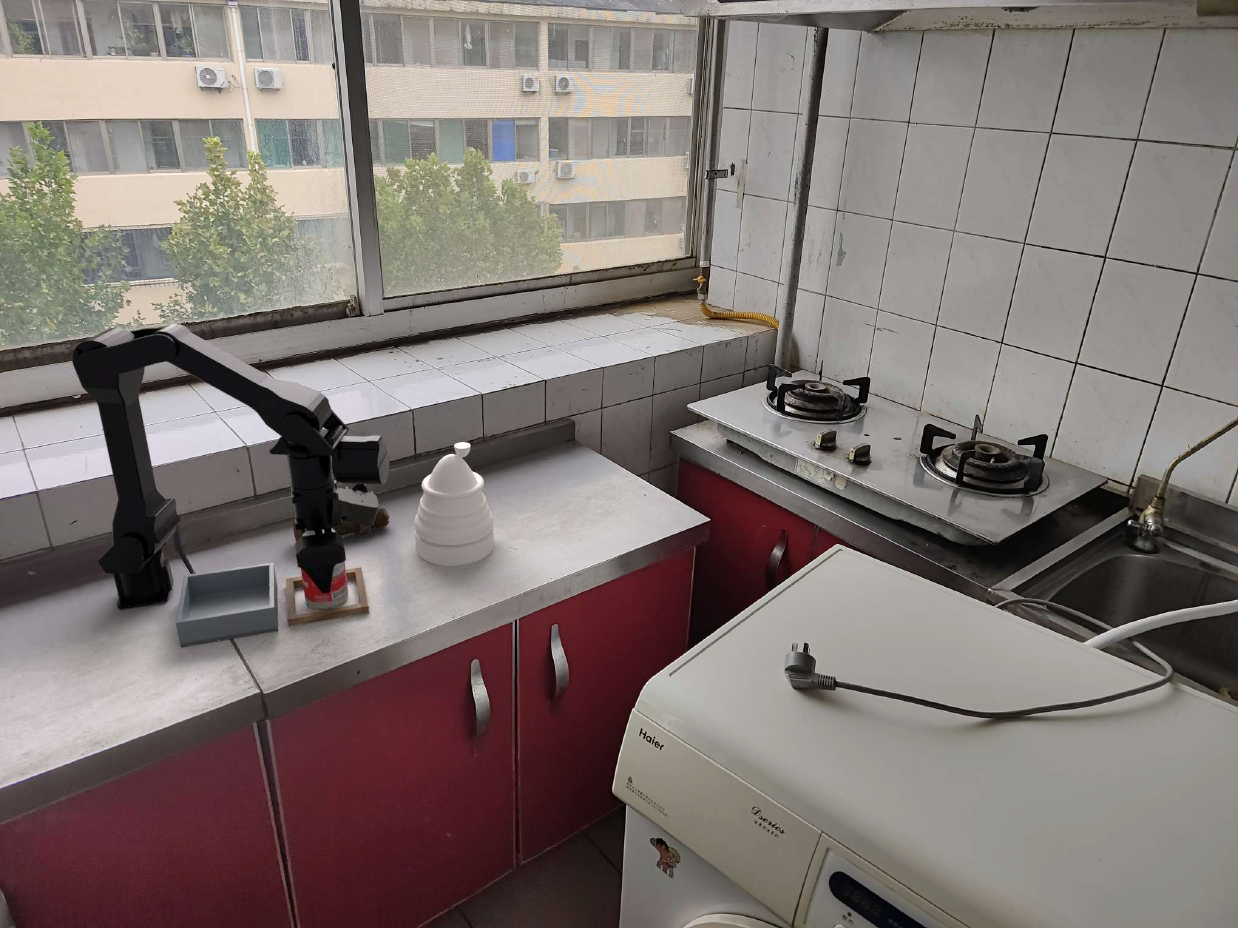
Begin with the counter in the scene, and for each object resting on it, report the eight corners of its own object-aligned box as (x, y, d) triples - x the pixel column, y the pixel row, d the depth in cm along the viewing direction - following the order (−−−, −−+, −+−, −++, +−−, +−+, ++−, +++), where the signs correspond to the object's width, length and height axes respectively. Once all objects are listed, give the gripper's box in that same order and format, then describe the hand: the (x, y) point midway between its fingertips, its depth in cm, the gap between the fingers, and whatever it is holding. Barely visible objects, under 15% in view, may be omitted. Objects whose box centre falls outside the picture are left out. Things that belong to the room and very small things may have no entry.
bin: (181, 647, 112) (175, 622, 110) (188, 598, 122) (183, 575, 120) (278, 630, 116) (274, 607, 114) (277, 584, 126) (273, 562, 124)
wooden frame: (288, 626, 117) (287, 619, 116) (287, 585, 126) (286, 578, 125) (369, 612, 121) (368, 606, 120) (362, 573, 130) (361, 567, 129)
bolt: (389, 537, 144) (300, 557, 136) (379, 514, 146) (292, 533, 138) (394, 518, 140) (303, 538, 132) (384, 495, 142) (294, 513, 134)
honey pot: (474, 520, 147) (471, 426, 139) (506, 553, 137) (505, 454, 130) (404, 537, 140) (397, 440, 133) (433, 573, 131) (427, 471, 123)
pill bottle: (309, 588, 126) (300, 524, 121) (351, 586, 127) (344, 523, 122) (301, 612, 120) (292, 546, 115) (345, 609, 121) (338, 544, 116)
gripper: (379, 503, 110) (388, 601, 116) (365, 448, 126) (374, 537, 132) (290, 514, 106) (304, 615, 113) (287, 456, 122) (299, 547, 128)
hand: (324, 575), depth 122 cm, fingers open, 9 cm apart
